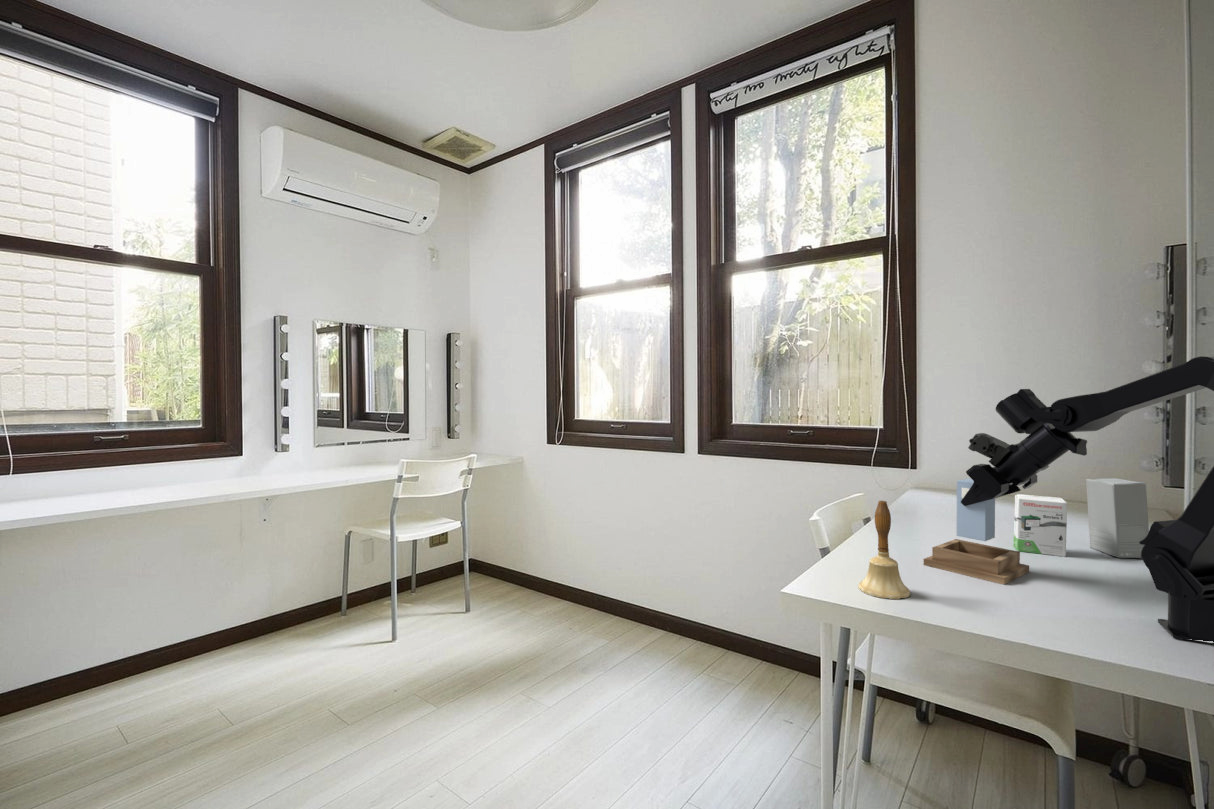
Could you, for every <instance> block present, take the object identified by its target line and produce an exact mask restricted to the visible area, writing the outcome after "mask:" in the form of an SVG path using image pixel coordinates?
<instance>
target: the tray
mask: <svg viewBox="0 0 1214 809" xmlns="http://www.w3.org/2000/svg"><path fill="white" fill-rule="evenodd" d="M931 551H932V552H931V553H932V555H930V556H927V557H926V558H923V566H928V567H932V568H935V569H940V570H942V571H943V570H944V571H946V572H952V573H955V574H960V575H964V576H968V577H972V578H975V579H981V580H983V581H987V582H992V583H997V584H1000V585H1007V584H1008V583H1010V582H1013V581H1015V579H1017V578H1019V577H1022V576H1024V575H1025V574H1028V573H1029V572H1030V565H1029V564H1024V563H1021V562H1020V560H1021V558H1020V557H1021V556H1020V555H1021V551H1017V550H1013V549H1007V548H1003V547H997V546H993V545H987V544H982V543H978V542H972V541H968V540H963V539H957V538H955V539H952V540H949V541H947V542H944V543H940V544H938V545H935V546H933V547H932V550H931Z"/></svg>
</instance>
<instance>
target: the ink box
mask: <svg viewBox="0 0 1214 809" xmlns="http://www.w3.org/2000/svg"><path fill="white" fill-rule="evenodd" d="M1067 520H1068V501H1066V500H1065V499H1063V498H1062V497H1057V496H1056V497H1054V496H1045V495H1041V496H1040V495H1032V494H1021V493H1019V494H1018V493H1017V494H1015V495H1014V521H1013V522H1014V523H1013V524H1014V525H1013V543H1012V544H1013V545H1012V546H1013V547H1014V549H1015V551H1018V552H1020V553H1021V552H1022V553H1031V554H1037V555H1038V554H1039V555H1045V556H1046V555H1048V556H1057V557H1064V558H1065V557H1067V529H1068V527H1067V525H1068V523H1067Z"/></svg>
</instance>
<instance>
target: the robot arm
mask: <svg viewBox="0 0 1214 809" xmlns="http://www.w3.org/2000/svg"><path fill="white" fill-rule="evenodd" d="M1204 389H1209V390H1210V391H1212V392H1214V356H1208V355H1207V356H1205V355H1203V356H1196V357H1193V358H1190V359H1189V360H1188V361H1186V362H1183V363H1182V364H1178V365H1176V366H1174V367H1170V368H1167V369H1165V370H1161V371H1160V372H1159V371H1158V372H1156V373H1153V374H1151V375H1148V376H1145V377H1142V378H1139V379H1137V380H1134V381H1131V382H1128V383H1125V384H1122V385H1120V386H1118V387H1117V386H1116V387H1114V388H1112V389H1109V390H1105V391H1101V392H1095V393H1089V394H1081V395H1075V396H1070V397H1066V398H1060V399H1057V400H1055V401H1054V402H1053V403H1052V404H1051V405H1050V406H1046V404H1045V403H1044V402H1043V401H1041V400H1040V398H1038V396H1037V395H1036V394H1035V393H1034V391H1033V390H1031V389H1030V388H1020V389H1019V390H1018V391H1017V392H1016V393H1013V394H1010V395H1009V396H1007V397H1005V398H1004V399H1001V400H1000V401H998V403H997V405H996V407H995V412H996V413H997V414H998V415H999V416H1000V417H1001V418H1002V419H1003V420H1004V421H1005V423H1007V424H1008V426H1010V427H1011V429H1013V431H1014V432H1015V433H1017V434H1020V435H1021V434H1026V435H1027V436H1026V437H1025V438H1023V439H1022V440H1021V441H1020V442H1018V443H1015V444H1014V443H1012V444H1008V443H1007V442H1006V441H1003V440H1001V439H999V438H996V437H995V436H993V435H990V434H988V433H985V432H979V433H975V435H973V437H972V438H970V439H969V440H968V441H969V446H968V447H967V448H968V449H969V450H970V451H971V452H976V453H979V455H983V456H984V457H986V458H989V460H988V463H990V464H988V463H987V464H986V463H978V464H973V465H971V467H970V468H968V469H967V470H966V471H965V472H966V475H967V476H968V477H969V479H972V480H973V481H974V483H973V485H972V486H971V488H970V489H969V491H968V492H967V493H966V495H965V496H964V498H963V499H962V500H961V503H962V504H963V505H964V506H968V505H971V504H975V503H979V502H983V501H987V500H990V499H994V498H995V499H997V498H1000V497H1003V496H1007V495H1012V494H1014V493H1019V492H1020V491H1021V489H1020V487H1019V486H1021V485H1022V488H1023V489H1024V490H1027V489H1029V488H1031V487H1033V486H1034V485H1036V484H1037V483H1038V475H1037V474H1038V473H1040V472H1043V471H1045V470H1047V469H1048V468H1049V467H1050V465H1051V464H1052V463H1053V462H1055V461H1056V460H1058V459H1059V458H1061V457H1062V456H1063V455H1065V454H1066V453H1067V452H1069V451H1070V452H1071V453H1072V454H1076V455H1080V456H1087V455H1088V449H1087V443H1088V441H1087V439H1084V438H1079V437H1076V436H1075V435H1074V434H1073V433H1081V432H1082V433H1084V432H1098V431H1099V430H1102V429H1103V428H1105V427H1108V426H1110V425H1112V424H1114V423H1115V422H1117V421H1119V420H1120V419H1121V418H1122V417H1123V416H1126V415H1127V414H1128V413H1131V412H1134V411H1137V410H1140V409H1144V408H1147V407H1150V406H1154V405H1156V404H1159V403H1162V402H1163V403H1164V402H1166V401H1168V400H1172V399H1175V398H1179V397H1181V396H1185V395H1188V394H1192V393H1195V392H1197V391H1201V390H1204ZM1139 543H1140V544H1143V545H1144V546H1143V548H1142V550H1141V558H1140V559H1142V560H1143V564H1144V565H1145V567H1146V568H1147V569H1148V570H1149V574H1150V576H1151V580H1152V582H1153V585H1154V587H1155V589H1156V590H1157V591H1160V592H1163V593H1164V592H1165V593H1166V594H1167V597H1168V598H1167V619H1165V618H1157V623H1158V624H1159V625H1160V626H1161V627H1162V628H1163V629H1164V630H1166V632H1167V633H1168V634H1169V635H1170V636H1171V637H1172V636H1173V637H1172V638H1174V637H1175V638H1174V639H1178V638H1180V639H1179V640H1184V639H1192V640H1203V641H1213V642H1214V465H1213V466H1212V468H1210V470H1209V472H1208V473H1207V475H1206V477H1205V478H1204V480H1203V481H1202V483H1201V485H1200V486H1199V487H1198V489H1197V491H1196V492H1195V494H1194V495H1193V496H1192V498H1191V500H1190V501H1189V503H1188V504H1187V506H1186V508H1185V509H1184V511H1183V513H1182V514H1181V515H1180V516H1179V517H1178V518H1177V519H1169V520H1158V521H1157V520H1156V521H1154V522H1153V523H1152V524H1151V525H1150V528H1149V533H1148V535H1147V536H1146V538H1145V539H1144V540H1142V541H1140V542H1139ZM1181 638H1182V639H1181Z"/></svg>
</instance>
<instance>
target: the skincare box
mask: <svg viewBox="0 0 1214 809" xmlns="http://www.w3.org/2000/svg"><path fill="white" fill-rule="evenodd" d="M1085 480H1086V481H1085V482H1086V500H1087V515H1088V516H1087V517H1088V531H1089V532H1088V533H1089V548H1090V549H1092V550H1095V551H1098V552H1101V553H1104V554H1107V555H1110V556H1112V557H1115V558H1122V559H1124V558H1127V559H1131V558H1132V559H1142V558H1141V550H1142V548H1143V546H1144V545H1143V544H1140V543H1139V542H1140V541H1142V540H1144V539H1145V538H1146V536H1147V535H1148V533H1149V530H1150V528H1149V526H1150V525H1149V513H1148V512H1149V511H1148V510H1149V508H1148V497H1147V484H1146V483H1145V482H1139V481H1133V480H1128V479H1123V478H1122V479H1121V478H1115V477H1114V478H1113V477H1112V478H1086V479H1085Z"/></svg>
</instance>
